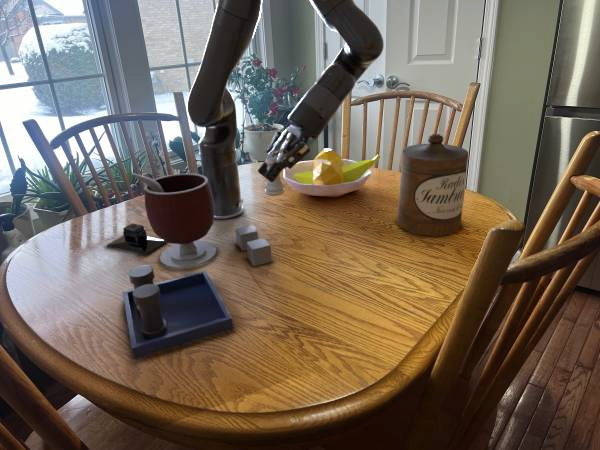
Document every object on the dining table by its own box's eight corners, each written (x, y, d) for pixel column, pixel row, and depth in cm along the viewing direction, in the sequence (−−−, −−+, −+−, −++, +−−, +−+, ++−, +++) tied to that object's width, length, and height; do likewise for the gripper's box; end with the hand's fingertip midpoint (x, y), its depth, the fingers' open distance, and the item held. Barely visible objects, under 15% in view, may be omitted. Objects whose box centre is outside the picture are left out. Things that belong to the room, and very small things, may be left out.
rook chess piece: (264, 190, 96) (261, 154, 93) (284, 188, 96) (282, 153, 93) (264, 197, 92) (261, 160, 89) (285, 195, 92) (283, 159, 89)
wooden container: (423, 241, 98) (431, 145, 89) (385, 218, 111) (389, 132, 102) (474, 228, 104) (486, 136, 95) (432, 207, 116) (440, 124, 107)
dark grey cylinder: (141, 328, 73) (131, 287, 70) (165, 321, 74) (157, 281, 71) (144, 342, 70) (133, 300, 66) (169, 334, 71) (160, 293, 68)
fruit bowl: (266, 196, 130) (262, 159, 125) (315, 171, 150) (314, 138, 145) (348, 214, 115) (348, 172, 110) (391, 183, 135) (393, 147, 130)
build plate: (167, 242, 104) (164, 224, 102) (146, 256, 98) (142, 237, 96) (128, 234, 109) (124, 217, 107) (105, 247, 103) (101, 229, 101)
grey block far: (236, 244, 102) (235, 228, 100) (253, 240, 103) (251, 224, 101) (242, 251, 98) (240, 235, 97) (259, 246, 100) (257, 231, 98)
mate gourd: (220, 238, 104) (209, 157, 96) (220, 267, 92) (208, 176, 84) (153, 246, 102) (136, 163, 94) (144, 276, 90) (124, 184, 82)
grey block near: (248, 258, 95) (246, 242, 93) (265, 254, 96) (263, 237, 95) (254, 266, 92) (252, 249, 90) (271, 261, 93) (270, 245, 91)
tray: (125, 303, 81) (122, 291, 80) (207, 281, 87) (206, 270, 86) (135, 362, 66) (131, 348, 65) (233, 331, 72) (232, 318, 71)
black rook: (136, 307, 79) (127, 268, 75) (159, 301, 80) (151, 263, 77) (139, 319, 75) (129, 279, 72) (162, 312, 77) (154, 273, 74)
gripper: (288, 95, 95) (240, 158, 96) (318, 104, 83) (263, 176, 84) (311, 117, 99) (265, 177, 100) (342, 128, 88) (290, 196, 88)
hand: (264, 176), depth 92 cm, fingers closed on rook chess piece, 3 cm apart
